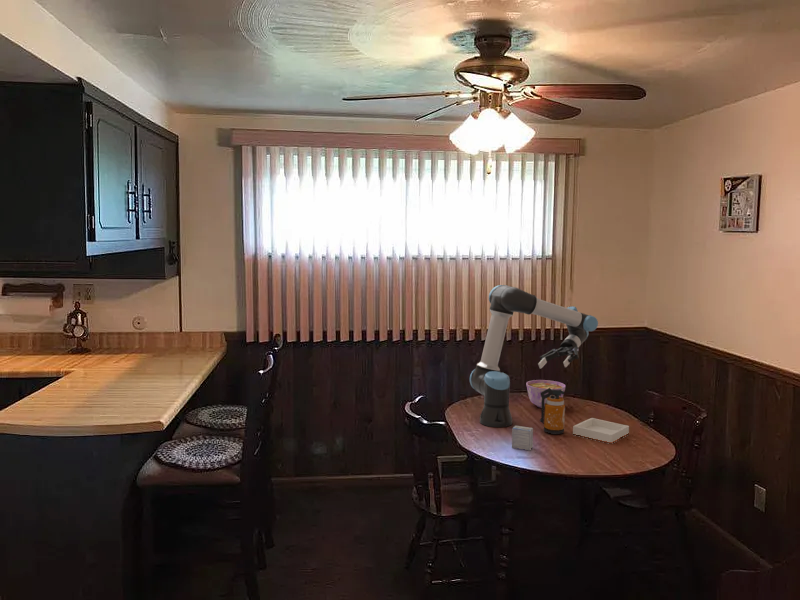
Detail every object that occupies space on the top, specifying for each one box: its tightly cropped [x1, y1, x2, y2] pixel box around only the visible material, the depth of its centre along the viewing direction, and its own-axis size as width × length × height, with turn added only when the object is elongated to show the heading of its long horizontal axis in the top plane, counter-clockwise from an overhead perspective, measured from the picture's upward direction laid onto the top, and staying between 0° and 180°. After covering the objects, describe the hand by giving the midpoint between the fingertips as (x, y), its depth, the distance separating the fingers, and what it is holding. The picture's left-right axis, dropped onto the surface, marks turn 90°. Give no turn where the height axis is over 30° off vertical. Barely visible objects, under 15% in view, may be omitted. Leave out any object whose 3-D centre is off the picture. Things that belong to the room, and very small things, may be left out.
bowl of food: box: [526, 379, 566, 409], centre depth 341 cm, size 20×20×12 cm
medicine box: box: [511, 425, 534, 451], centre depth 277 cm, size 8×4×9 cm, turn 65°
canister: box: [539, 388, 566, 435], centre depth 298 cm, size 9×11×20 cm
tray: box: [572, 417, 630, 442], centre depth 296 cm, size 18×18×4 cm
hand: (551, 365), depth 314 cm, fingers open, 13 cm apart
